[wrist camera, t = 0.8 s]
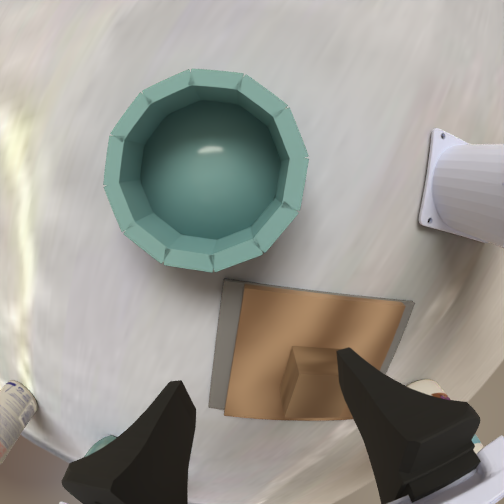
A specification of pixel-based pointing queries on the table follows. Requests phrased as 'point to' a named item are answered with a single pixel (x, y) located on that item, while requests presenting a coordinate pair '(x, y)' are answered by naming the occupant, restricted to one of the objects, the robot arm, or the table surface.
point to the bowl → (205, 170)
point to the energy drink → (14, 414)
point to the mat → (229, 327)
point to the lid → (302, 351)
